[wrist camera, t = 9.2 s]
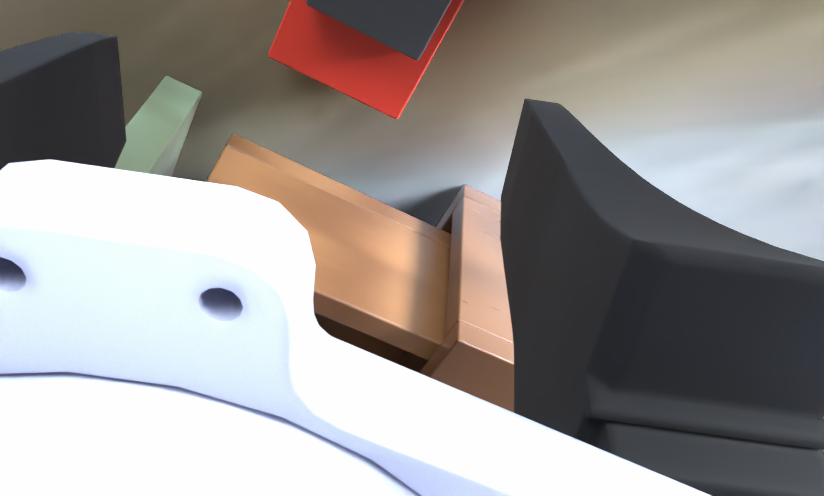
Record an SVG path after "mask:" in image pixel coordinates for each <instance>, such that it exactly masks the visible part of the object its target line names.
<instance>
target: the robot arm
mask: <svg viewBox="0 0 824 496" xmlns="http://www.w3.org/2000/svg"><path fill="white" fill-rule="evenodd" d="M125 143H126V130H125V119H124V108H123V97H122V86H121V75H120V64H119V53H118V41H117V37H115V36H109V35H102V34H95V33H89V32H71V33H66V34H61V35H57V36H52V37H49V38H45V39H41V40H38V41H34V42H30V43H27V44H24V45H20V46H17V47H13V48H10V49H6V50H3V51H0V496H824V451H823V450H824V261H821V260H818V259H814V258H811V257H808V256H804V255H801V254H798V253H794V252H791V251H788V250H784V249H781V248H778V247H775V246H772V245H770V244H767V243H765V242H762V241H759V240H757V239H754V238H752V237H749V236H747V235H744V234H742V233H739V232H737V231H735V230H732V229H730V228H728V227H726V226H723V225H721V224H719V223H717V222H715V221H713V220H711V219H709V218H707V217H705V216H703V215H701V214H699V213H698V212H696V211H694V210H692V209H690V208H688V207H686V206H685V205H683V204H681V203H679V202H678V201H676V200H675V199H673V198H671V197H670V196H668V195H667V194H665V193H664V192H662V191H661V190H659V189H658V188H656V187H655V186H653V185H652V184H650V183H649V182H647V181H646V180H645V179H643V178H642V177H641V176H639V175H638V174H637V173H636V172H634V171H633V170H632V169H631V168H629V167H628V166H627V165H626V164H624V163H623V162H622V161H621V160H620V159H619V158H617V157H616V156H615V155H614V154H613V153H612V152H611V151H609V150H608V149H607V148H606V147H605V146H604V145H603V144H602V143H601V142H600V141H599V140H598V139H597V138H596V137H595V136H593V135H592V134H591V133H590V132H589V131H588V130H587V129H586V128H585V127H584V126H583V125H582V124H581V123H580V122H579V121H578V120H577V119H576V118H575V117H574V116H573V115H572V114H571V113H570V112H569V111H568V110H567V109H565V108H564V107H563V106H562V105H560V104H558V103H551V102H545V101H538V100H531V99H525V100H524V104H523V108H522V112H521V116H520V121H519V125H518V129H517V133H516V137H515V141H514V145H513V149H512V153H511V158H510V162H509V166H508V170H507V174H506V178H505V182H504V186H503V190H502V195H501V219H500V240H501V249H502V256H503V264H504V272H505V279H506V286H507V294H508V301H509V308H510V316H511V323H512V331H513V344H514V413H513V412H511V411H508V410H506V409H504V408H501V407H499V406H496V405H494V404H492V403H489V402H487V401H484V400H482V399H480V398H477V397H475V396H472V395H470V394H468V393H465V392H463V391H461V390H458V389H456V388H453V387H451V386H449V385H446V384H444V383H441V382H439V381H437V380H434V379H432V378H430V377H427V376H425V375H422V374H420V373H418V372H415V371H413V370H410V369H408V368H406V367H403V366H401V365H398V364H396V363H394V362H391V361H389V360H387V359H384V358H382V357H379V356H377V355H375V354H372V353H370V352H367V351H365V350H363V349H360V348H358V347H356V346H353V345H351V344H348V343H346V342H344V341H341V340H339V339H336V338H334V337H332V336H330V335H329V334H328V333H327V332H326V331H325V330H323V329H322V328H321V327H320V326H319V324H318V322H317V320H316V317H315V315H314V305H313V294H314V282H315V269H316V264H315V260H314V256H313V252H312V248H311V244H310V239H309V235H308V231H307V230H306V229H305V228H304V227H303V226H302V225H301V224H300V223H299V222H298V221H297V220H296V219H295V218H294V217H293V216H292V215H291V214H290V213H289V212H288V211H287V210H286V209H285V208H284V207H283V206H282V205H281V204H280V203H279V202H277V201H274V200H272V199H269V198H266V197H264V196H261V195H258V194H256V193H253V192H250V191H247V190H245V189H242V188H239V187H237V186H230V185H223V184H216V183H209V182H202V181H195V180H188V179H181V178H175V177H168V176H161V175H154V174H147V173H140V172H133V171H126V170H119V169H114V168H115V166H116V164H117V161H118V159H119V157H120V154H121V152H122V150H123V148H124V145H125Z"/></svg>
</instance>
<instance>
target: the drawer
mask: <svg viewBox="0 0 824 496" xmlns="http://www.w3.org/2000/svg"><path fill="white" fill-rule="evenodd" d="M201 95H202V92H200V91H198V90H196V89H194V88H192V87H190V86H188V85H186V84H183V83H181V82H179V81H177V80H175V79H173V78H171V77H169V76H165V78H164V79H163V80H162V81H161V83H160V84H159V85H158V86H157V88H156V89H155V90H154V91H153V93H152V94H151V95H150V96H149V98H148V99H147V100H146V101H145V103H144V104H143V105H142V107H141V108H140V109H139V110H138V112H137V113H136V114H135V115H134V117H133V118H132V119H131V120H130V122H129V123H128V124H127V125H126V127H125V130H126V143H125V145H124V148H123V150H122V152H121V154H120V157H119V159H118V161H117V164H116V166H115V168H114V169H119V170H126V171H133V172H140V173H147V174H154V175H161V176H168V177H171V176H172V174H173V171H174V168H175V166H176V163H177V160H178V157H179V155H180V152H181V149H182V147H183V144H184V141H185V139H186V136H187V133H188V130H189V128H190V125H191V122H192V120H193V117H194V114H195V112H196V109H197V106H198V103H199V101H200V98H201ZM206 182H209V183H216V184H223V185H230V186H237V187H239V188H242V189H245V190H247V191H250V192H253V193H256V194H258V195H261V196H264V197H266V198H269V199H272V200H274V201H277V202H279V203H280V204H281V205H282V206H283V207H284V208H285V209H286V210H287V211H288V212H289V213H290V214H291V215H292V216H293V217H294V218H295V219H296V220H297V221H298V222H299V223H300V224H301V225H302V226H303V227H304V228H305V229H306V230H307V231H308V235H309V239H310V244H311V248H312V252H313V256H314V260H315V264H316V269H315V282H314V294H313V305H314V315H315V317H316V320H317V322H318V324H319V326H320V327H321V328H322V329H323V330H325V331H326V332H327V333H328V334H329V335H330V336H332V337H334V338H336V339H339V340H341V341H344V342H346V343H348V344H351V345H353V346H356V347H358V348H360V349H363V350H365V351H367V352H370V353H372V354H375V355H377V356H379V357H382V358H384V359H387V360H389V361H391V362H394V363H396V364H398V365H401V366H403V367H406V368H408V369H410V370H413V371H415V372H418V373H420V371H421V370H422V369H423V367H424V366H425V365H426V363H427V362H428V361H429V359H430V358H431V357H432V355H433V354H434V353H435V351H436V350H437V349H438V347H439V346H440V345H441V343H442V342H443V341H444V339H445V338H446V337H445V334H446V317H447V300H448V283H449V266H450V249H451V234H449V233H447V232H445V231H443V230H441V229H439V228H436V227H434V226H432V225H430V224H428V223H426V222H423V221H421V220H419V219H417V218H415V217H413V216H410V215H408V214H406V213H404V212H402V211H400V210H397V209H395V208H393V207H391V206H389V205H387V204H385V203H382V202H380V201H378V200H376V199H374V198H372V197H369V196H367V195H365V194H363V193H361V192H359V191H356V190H354V189H352V188H350V187H348V186H346V185H343V184H341V183H339V182H337V181H335V180H333V179H330V178H328V177H326V176H324V175H322V174H320V173H317V172H315V171H313V170H311V169H309V168H307V167H304V166H302V165H300V164H298V163H296V162H294V161H291V160H289V159H287V158H285V157H283V156H281V155H279V154H276V153H274V152H272V151H270V150H268V149H266V148H263V147H261V146H259V145H257V144H255V143H253V142H250V141H248V140H246V139H244V138H242V137H240V136H237V135H235V134H232V135H231V136H230V138H229V140H228V142H227V143H226V145H225V147H224V149H223V151H222V153H221V154H220V156H219V158H218V160H217V162H216V163H215V165H214V167H213V169H212V171H211V173H210V174H209V176H208V178H207V180H206Z"/></svg>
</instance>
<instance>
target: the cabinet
mask: <svg viewBox="0 0 824 496" xmlns="http://www.w3.org/2000/svg"><path fill="white" fill-rule="evenodd" d="M500 219H501V201H499V200H496V199H494V198H492V197H490V196H488V195H486V194H484V193H482V192H480V191H478V190H476V189H474V188H471V187H469V186H467V185H463V186H462V188H461V189H460V191H459V192H458V194H457V195H456V197H455V198H454V200H453V201H452V203H451V204H450V206H449V207H448V209H447V211H446V212H445V214H444V215H443V217H442V218H441V220H440V221H439V223H438V224H437V226H436V228H439V229H441V230H443V231H445V232H447V233H449V234H451V249H450V266H449V283H448V300H447V317H446V334H445V337H446V338H445V339H444V341H443V342H442V343H441V345H440V346H439V347H438V349H437V350H436V351H435V353H434V354H433V355H432V357H431V358H430V359H429V361H428V362H427V363H426V365H425V366H424V367H423V369H422V370H421V371H420V374H422V375H425V376H427V377H430V378H432V379H434V380H437V381H439V382H441V383H444V384H446V385H449V386H451V387H453V388H456V389H458V390H461V391H463V392H465V393H468V394H470V395H472V396H475V397H477V398H480V399H482V400H484V401H487V402H489V403H492V404H494V405H496V406H499V407H501V408H504V409H506V410H508V411H511V412H513V413H514V344H513V331H512V323H511V316H510V308H509V301H508V294H507V286H506V279H505V272H504V264H503V256H502V249H501V240H500Z"/></svg>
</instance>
